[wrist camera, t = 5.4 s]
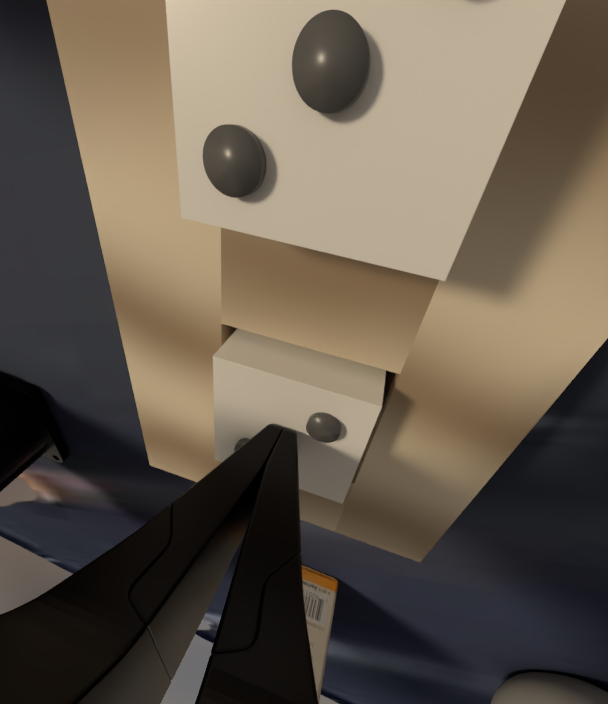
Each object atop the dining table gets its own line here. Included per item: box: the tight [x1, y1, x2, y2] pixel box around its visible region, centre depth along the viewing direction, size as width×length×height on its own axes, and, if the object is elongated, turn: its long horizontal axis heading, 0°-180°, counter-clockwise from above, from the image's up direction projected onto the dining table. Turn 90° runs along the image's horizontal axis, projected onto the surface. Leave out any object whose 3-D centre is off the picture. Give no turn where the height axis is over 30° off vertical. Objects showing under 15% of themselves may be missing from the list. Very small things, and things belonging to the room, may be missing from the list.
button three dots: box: [165, 0, 566, 281], centre depth 5 cm, size 4×4×3 cm
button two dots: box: [213, 328, 386, 504], centre depth 10 cm, size 4×4×3 cm
